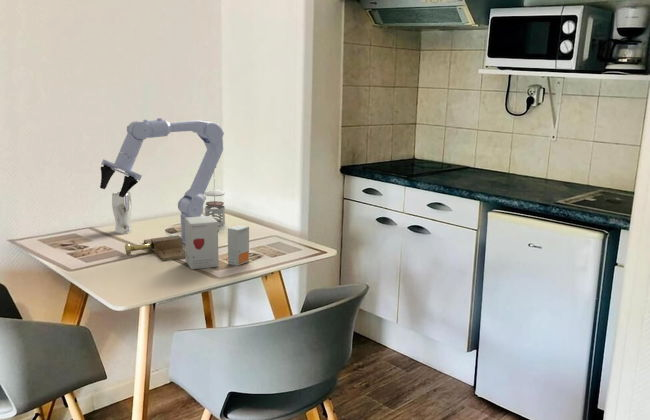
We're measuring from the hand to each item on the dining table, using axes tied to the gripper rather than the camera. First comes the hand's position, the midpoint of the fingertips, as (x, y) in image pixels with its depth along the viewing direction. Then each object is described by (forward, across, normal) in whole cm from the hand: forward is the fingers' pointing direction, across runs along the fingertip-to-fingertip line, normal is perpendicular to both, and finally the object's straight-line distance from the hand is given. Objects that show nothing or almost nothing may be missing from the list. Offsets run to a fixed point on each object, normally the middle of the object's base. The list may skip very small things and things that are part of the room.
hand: (111, 192), depth 198 cm
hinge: (+12, +20, +13) cm, 26 cm away
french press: (0, +20, +45) cm, 49 cm away
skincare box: (+5, +48, +7) cm, 49 cm away
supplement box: (+10, +39, +2) cm, 40 cm away
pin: (+15, +15, +8) cm, 22 cm away
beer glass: (+15, -7, +29) cm, 33 cm away
